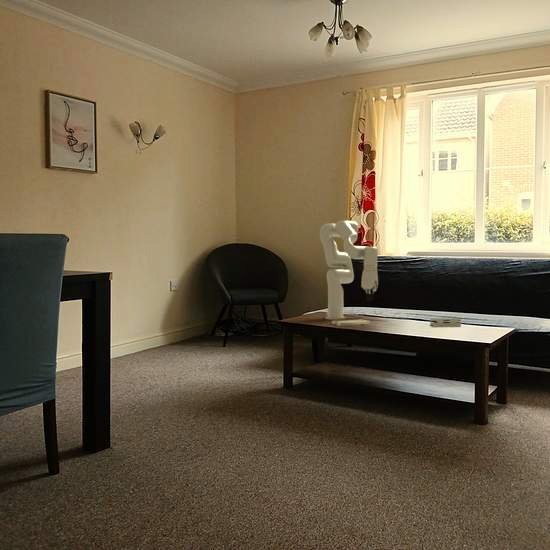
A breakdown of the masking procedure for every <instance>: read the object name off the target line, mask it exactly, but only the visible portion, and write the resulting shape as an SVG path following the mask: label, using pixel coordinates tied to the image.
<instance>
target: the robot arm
mask: <svg viewBox="0 0 550 550" xmlns="http://www.w3.org/2000/svg"><path fill="white" fill-rule="evenodd" d="M358 232H359V224H358V223H357V222H356V221H354V220H338V221H337V222H336V223H332V222H330V223H325V224H322V225H321V227H320V229H319V238H320V242H321V243H322V247H323V252H324V257H325V261H326V265H327V266H328V267H330V269H328V271H327V272H326V281H327V312H326V313H325V314H326V315H327V316H325V319H326V320H331V321H332V319H333V318H347V317H346V316H344V288H343V285H342V284H350V283H352V282H353V281H354V279H355V274H354V268H353V263H352V262H353V261H352V259H353V260H363V270H362V274H361V285H360V287H361V288H362V289H363V290H364V291H365V293H366V302H373V301H374V293H375V292H376V291H377V289H378V287H379V276H378V252H379V251H378V247H376V246H369V245H368V246H366V245H365V246H363V245H354V243H356V241H357V240H358ZM334 238H341V239H342V240H343V250H344V251H339V249H338V245H337V243H336V241H335V240H334Z"/></svg>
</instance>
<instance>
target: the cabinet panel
mask: <svg viewBox="0 0 550 550" xmlns="http://www.w3.org/2000/svg"><path fill="white" fill-rule="evenodd" d="M331 322H332V325H334V326H337V327H339V326H340V327H347V326H348V327H349V326H350V325H351V326H361V324H364V325H371V324H372V323H371V320H366V319H362V316H356V317H355V316H353V317H352V316H351V317H346V318H333V319H332V320H331ZM351 326H350V327H351Z"/></svg>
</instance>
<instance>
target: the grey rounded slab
mask: <svg viewBox="0 0 550 550" xmlns="http://www.w3.org/2000/svg"><path fill="white" fill-rule="evenodd" d="M429 321H430V323H429V324H430V325H429V326H432V327H433V326H434V328H441V327H442V328H447V327H448V328H453V327H454V328H457V327H458V328H459V327H460V326H462V322H461V321H462V319H461V317H459V318H457V317H456V318H450V317H449V318H448V317H447V318H430V319H429ZM460 328H461V327H460Z"/></svg>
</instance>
